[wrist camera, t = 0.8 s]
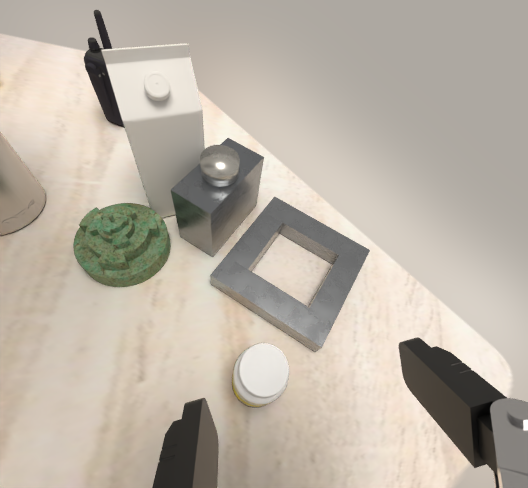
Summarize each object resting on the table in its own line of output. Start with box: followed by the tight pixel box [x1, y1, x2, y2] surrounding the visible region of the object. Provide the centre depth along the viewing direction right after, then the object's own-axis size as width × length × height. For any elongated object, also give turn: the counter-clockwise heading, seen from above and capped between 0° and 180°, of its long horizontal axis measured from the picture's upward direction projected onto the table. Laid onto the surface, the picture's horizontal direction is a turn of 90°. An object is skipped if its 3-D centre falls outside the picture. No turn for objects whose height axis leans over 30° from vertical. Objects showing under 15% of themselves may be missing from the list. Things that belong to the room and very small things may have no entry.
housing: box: [171, 138, 370, 352], centre depth 34 cm, size 21×14×11 cm, turn 58°
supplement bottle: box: [232, 343, 289, 407], centre depth 27 cm, size 5×5×8 cm
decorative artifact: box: [74, 203, 170, 287], centre depth 34 cm, size 10×7×10 cm
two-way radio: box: [84, 10, 124, 126], centre depth 41 cm, size 6×4×15 cm
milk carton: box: [101, 43, 205, 218], centre depth 33 cm, size 7×7×19 cm
